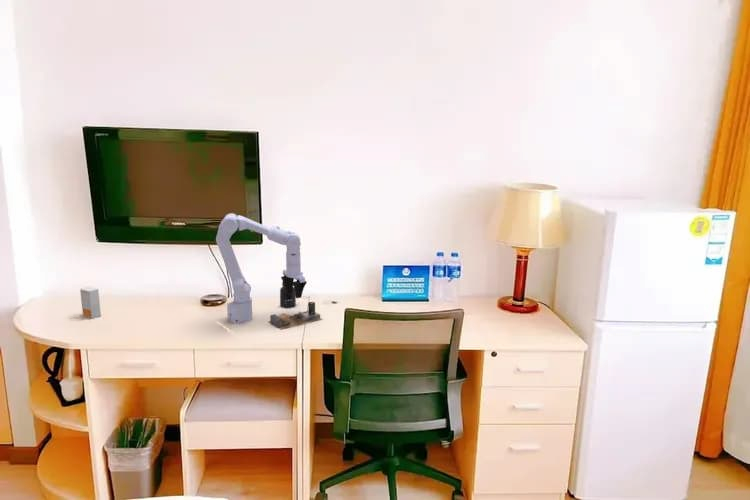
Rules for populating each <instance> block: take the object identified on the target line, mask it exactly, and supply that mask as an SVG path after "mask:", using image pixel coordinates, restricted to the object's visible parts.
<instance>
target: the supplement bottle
mask: <svg viewBox="0 0 750 500" xmlns="http://www.w3.org/2000/svg"><path fill="white" fill-rule="evenodd" d="M281 282H282V283H281V284H282V287H280V289H279V306H280V308H283V309H292V308H295V307H296V306H297V302H296V301H297V298H296V295H295V288H294V285H293V288H292V293H287V292H286V289H285V285H284V282H283V280H281Z"/></svg>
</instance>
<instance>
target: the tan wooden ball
mask: <svg viewBox="0 0 750 500" xmlns="http://www.w3.org/2000/svg"><path fill="white" fill-rule="evenodd" d="M278 316H279V317H280V318H282V324H283V323H285V322H288V320H289V317H290V316H288V314H286V313H281V314H280V315H278Z"/></svg>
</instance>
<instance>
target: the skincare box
mask: <svg viewBox="0 0 750 500" xmlns="http://www.w3.org/2000/svg"><path fill="white" fill-rule="evenodd" d="M79 292H80V300H81V302H80V303H81V310H82V316H83V317H84V318H89V319H92V320H93V319H97V318H101V316H102V313H101V312H102V311H101V303H100V302H101V301H100V295H99V294H100V293H99V288H96V287H94V286H93V287H92V286H86V287H84V288H80V290H79Z"/></svg>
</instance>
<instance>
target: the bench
mask: <svg viewBox="0 0 750 500" xmlns="http://www.w3.org/2000/svg"><path fill="white" fill-rule="evenodd" d="M301 312H302V311H301ZM307 312H308V310H306V311H303V312H302V313H307ZM279 316H280V315H277V314H275V313H274V314H270V315H269V321H267V323H268V324H271V325H272V326H274V327H276V328H277V329H279V330H280V331H282V330H286V329H291V328H294V327H299V326H303V325H307V324H311V323H315V322H320V321H323V320H324V319H323V318H321V314H320V313H318V314H316V315H312V316H308V317H304V318H299V317H298V312H297V313H294V314H293V315H291V316H288V317H289V320H288V322H285V323H283V324H282V318H280V317H279Z"/></svg>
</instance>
